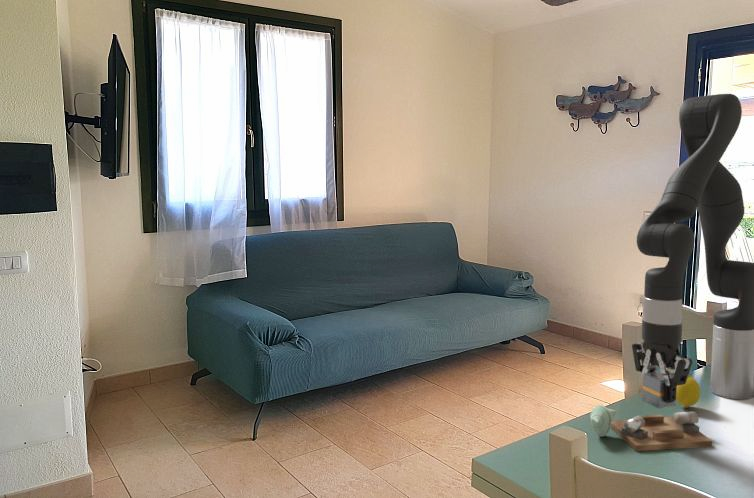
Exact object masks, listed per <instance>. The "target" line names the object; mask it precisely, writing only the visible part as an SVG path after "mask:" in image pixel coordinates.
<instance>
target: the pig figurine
mask: <svg viewBox="0 0 754 498" xmlns="http://www.w3.org/2000/svg"><path fill="white" fill-rule="evenodd" d="M616 413H617V411H616V410H614V409H610V408H607V407H606V406H605V405H602V404H599V405H595V406H594V407H593V408H592V410H591V411H590V415H589V416H590V421H591V426H592V429H593V430H594V432H595V434H596V435H597V436H598V437H602V438H603V437H605V436H606V435H607V434H608V433H609V432H610V429H611V424H612V420H614V417H615V414H616Z"/></svg>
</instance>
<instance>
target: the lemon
mask: <svg viewBox="0 0 754 498" xmlns="http://www.w3.org/2000/svg"><path fill="white" fill-rule="evenodd" d="M676 389H677V393H676V403H679V404H680V405H681V406H683V407H684V409H685V408H686V409H687V408H688V409H689V407H693V406H694V405H696V404H697V403H698V402H699V400H700V397H701V388H700V384H699V383H698V381H697V379H695V378H693V377H691V376H690V374H689V375H688V378H687V381H686V384H683V385H678V386H677V388H676Z"/></svg>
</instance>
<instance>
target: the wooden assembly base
mask: <svg viewBox="0 0 754 498" xmlns="http://www.w3.org/2000/svg"><path fill="white" fill-rule="evenodd" d="M636 416H637V415H635V416H634V417H636ZM640 416H641V417H642V418H643V419H644V420H645V425H644V426H643V427H642V428H640V429H642V430H645V431H648V437H647V438H645V439H643V440H639V439H636V438H634V437H631V436H628V435H625V434H622V427H624V424H625V422H627V421H628V420H630V419H631V418H628V419H613V420H612V424H611V427H610V429H611V430H613V431H614V432H615V433H616V435H618V436H619V437H620V438H621V439H622V440H623V441H624V442H625V443H626V444H627V445H629V447H631V448H632V449H633V450H634V451H636V452H644V451H647V452H648V451H662V450H675V449H676V450H677V449H692V448H693V449H694V448H707V447H713V440H712V439H710V438H709V437H707V435H705V434H703V433H702V432H700V427H699V426H698V425H697V424H698V423H699V415H698V413H697V412H696V411H683V412H682V411H680V412H674V413H673V416H666V417H665V416H664V415H663V414H649V415H647V414H646V415H640Z"/></svg>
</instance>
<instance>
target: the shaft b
mask: <svg viewBox="0 0 754 498" xmlns="http://www.w3.org/2000/svg"><path fill="white" fill-rule="evenodd" d="M635 416H636V417H635ZM635 416H634V417H632V418H629V419H630V420H628V421H627V422H625V424H624V427H622V434H625V435H628V436H631V437H634V438H636V439H639V440H643V439H645V438H647V437H648V431H645V430H642V429H640V428H642V427H643V426H644V425H645V420H644V419H643V418H642V417H641V416H642V415H635Z"/></svg>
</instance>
